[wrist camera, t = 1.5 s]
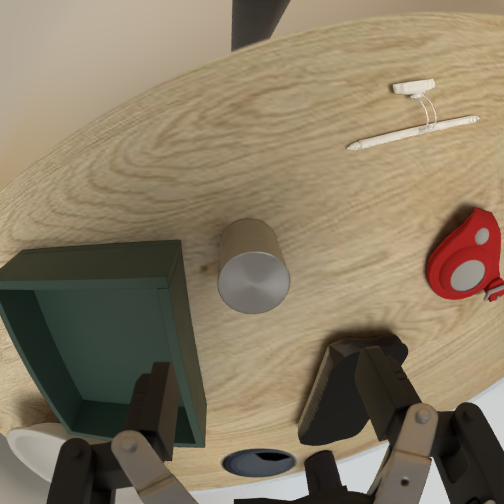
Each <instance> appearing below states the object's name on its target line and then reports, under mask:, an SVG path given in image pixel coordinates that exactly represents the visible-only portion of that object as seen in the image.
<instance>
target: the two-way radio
mask: <svg viewBox="0 0 504 504" xmlns="http://www.w3.org/2000/svg"><path fill="white" fill-rule="evenodd" d="M305 471H306V478H307V484H308V490H309V495H310V494H312V493H315V492H317V491H320V490H325V489H331V488H336V487H341V486H342V484H341V481H340V476H339V473H338V469H337V466H336V463H335V459H334V456H333V453H331V452H320V453H319V454H316V455H315V456H313V457H312V458H310V459H309V460H308V461H306V462H305Z"/></svg>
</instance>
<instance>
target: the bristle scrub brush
mask: <svg viewBox="0 0 504 504" xmlns="http://www.w3.org/2000/svg"><path fill="white" fill-rule="evenodd" d="M373 346H379V347H380V348H381V350H382V351H383V353H384V355H385V356H388V355H390V356H392V357H393V358H394V359H395V360H397V361H398V362H399V364H400V365H402V364H403V362H404V360H405V359H406V357H407V355H408V348H407V346H406V345H405V344H403V343H402V342H401V340H400V339H399V337H398V336H396V335H393V334H389V335H381V336H377V337H373V338H366V339H363V338H349V337H348V338H344V339H341V340H339V341H336V342H334V343H332V344H330V345H329V346H328V347H327V350H326V353H325V355H324V358H323V361H322V363H321V365H320V368H319V371H318V374H317V377H316V380H315V383H314V385H313V388H312V391H311V393H310V396H309V398H308V400H307V403H306V406H305V408H304V410H303V414H302V416H301V418H300V420H299V423H298V437H299V440H300V443H301V444H304V445H311V446H320V445H325V444H329V443H332V442H335V441H339V440H343V439H348V438H351V437H353V436H355V435H357V434H358V433H360V432H361V430H362V429H363V428H364V426H365V425H366V423H367V422H368V420H369V419H370V417H369V415H368V413H367V410H366V408H365V405H364V403H363V400H362V398H361V396H360V393H359V391H358V389H357V386H356V383H355V371H356V367H357V363H358V359H359V355H360V351H361V349H362V348H366V347H373Z"/></svg>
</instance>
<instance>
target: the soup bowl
mask: <svg viewBox="0 0 504 504" xmlns="http://www.w3.org/2000/svg"><path fill="white" fill-rule="evenodd" d="M71 438H81V439H84V440H86V441H87V442H88V443H89V445H92V444H99V443H106V442H110V441H106V440H99V439H93V438H87V437H81V436H76V435H71V434H69V433H68V432H67V431H66V429H65V428H64V427H63V425H62V424H61V423H40V424H35V425H32V426H29V427H16V428H12V429H11V430H9V432H8V433H7V441H8V444H9V446H10V448H11V449H12V451H13V452H14V453H15V454H16V456H17V457H18V458H19V459H20V460H21V461H22V462H23V463H24V464H25V465H27V467H29V468H30V469H31V470H32V471H34V472H35V473H36V474H38V475H39V476H41V477H42V478H44V479H45V480H47V481H49V482H50V483H51V481H52V477H53V473H54V469H55V465H56V462H57V458H58V454H59V451H60V448H61V446H62V444H63V443H64V442H65V441H67V440H69V439H71ZM115 504H144V503H143V502H142V500H141V499H140V497H139V496H138V494H137V491H136V490H135V488H134V487H128V488H122V489H116V498H115Z"/></svg>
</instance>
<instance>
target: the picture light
mask: <svg viewBox="0 0 504 504" xmlns="http://www.w3.org/2000/svg"><path fill="white" fill-rule="evenodd" d="M435 87H436V86H435V82H434V79H428V80H420V81H412V82H406V83H399V84H393V89H394V93H395V94H397V93H400V94H414V95H411V96H410V98H411V99H417V100H418V101H419V102H420V103H421V104H422V106H423V107H424V109H425V112H426V116H427V125H423V126H418V127H414V128H409V129H405V130H401V131H396V132H392V133H388V134H384V135H380V136H376V137H372V138H368V139H364V140H363V139H362V140H358V142H354V143H353V144H351V145H350V146H349V147H347V149H348V150H349V149H351V150H359V149H361V150H362V149H366V148H368V147H371V146H375V145H379V144H383V143H387V142H390V141H394V140H398V139H402V138H406V137H411V136H415V135H419V134H423V133H428V132H432V131H436V130H441V129H445V128H450V127H455V126H459V125H464V124H472V123H474V122H476V121H478V119H479V117H477V116H474V115H473V116H471V115H470V116H467V117H462V118H457V119H451V120H446V121H442V122H437V123H436V112H435V109H434V106H433V104H432V103H431V101H430V100H429V99H428V98H427V97H425V94H424V93H423V92H426V91H428V90H430V89H432V88H435ZM421 93H423V94H421ZM422 97H424V98H426V99H427V100H428V101H429V102H430V104H431V105H432V108H433V110H434V113H435V123H432V124H428V113H427V110H426V108H425V106H424V104H423V103H422V102H421V101H420V100H419V99H418V98H422Z"/></svg>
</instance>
